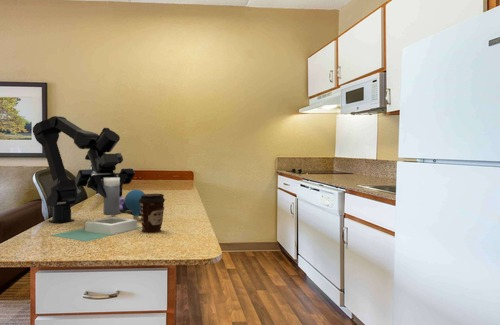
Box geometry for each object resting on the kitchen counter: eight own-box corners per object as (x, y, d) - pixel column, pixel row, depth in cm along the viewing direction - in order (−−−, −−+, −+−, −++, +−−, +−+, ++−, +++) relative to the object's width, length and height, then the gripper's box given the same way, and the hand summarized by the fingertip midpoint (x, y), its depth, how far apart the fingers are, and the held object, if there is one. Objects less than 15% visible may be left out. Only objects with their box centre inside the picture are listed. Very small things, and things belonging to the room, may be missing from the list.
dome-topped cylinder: (100, 214, 131) (100, 177, 131) (111, 212, 136) (112, 176, 135) (111, 215, 129) (111, 178, 129) (122, 213, 134) (123, 177, 133)
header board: (49, 238, 123) (49, 225, 123) (109, 225, 145) (109, 214, 145) (86, 244, 116) (86, 231, 116) (143, 230, 138) (143, 218, 137)
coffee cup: (170, 232, 135) (170, 193, 135) (156, 237, 127) (156, 196, 127) (147, 230, 138) (148, 192, 137) (133, 235, 130) (133, 195, 130)
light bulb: (140, 223, 151) (141, 191, 150) (120, 221, 152) (120, 190, 152) (150, 219, 159) (150, 188, 158) (131, 218, 160) (131, 188, 160)
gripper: (78, 144, 128) (91, 181, 121) (132, 145, 141) (148, 179, 133) (69, 167, 134) (81, 204, 127) (122, 166, 147) (136, 200, 139)
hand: (113, 196), depth 131 cm, fingers closed on dome-topped cylinder, 5 cm apart
